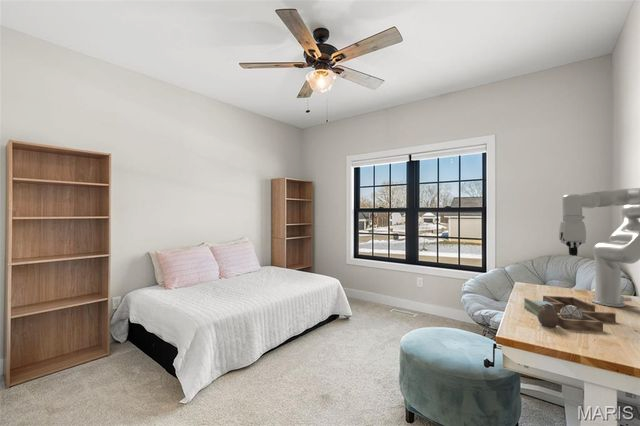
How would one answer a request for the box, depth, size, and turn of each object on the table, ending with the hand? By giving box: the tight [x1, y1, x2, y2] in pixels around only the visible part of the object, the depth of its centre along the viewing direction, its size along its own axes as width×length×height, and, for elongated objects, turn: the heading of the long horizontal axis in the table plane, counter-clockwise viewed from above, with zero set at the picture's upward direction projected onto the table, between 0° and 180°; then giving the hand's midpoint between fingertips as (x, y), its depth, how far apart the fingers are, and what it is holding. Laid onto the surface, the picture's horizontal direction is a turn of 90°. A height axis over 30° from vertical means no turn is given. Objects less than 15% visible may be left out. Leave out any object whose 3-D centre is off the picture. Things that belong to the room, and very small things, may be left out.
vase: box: [537, 304, 559, 329], centre depth 121 cm, size 7×7×9 cm
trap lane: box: [523, 295, 617, 332], centre depth 136 cm, size 30×38×5 cm
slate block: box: [533, 300, 554, 308], centre depth 137 cm, size 6×6×5 cm
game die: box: [558, 303, 584, 320], centre depth 125 cm, size 9×8×10 cm
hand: (573, 255), depth 149 cm, fingers closed
